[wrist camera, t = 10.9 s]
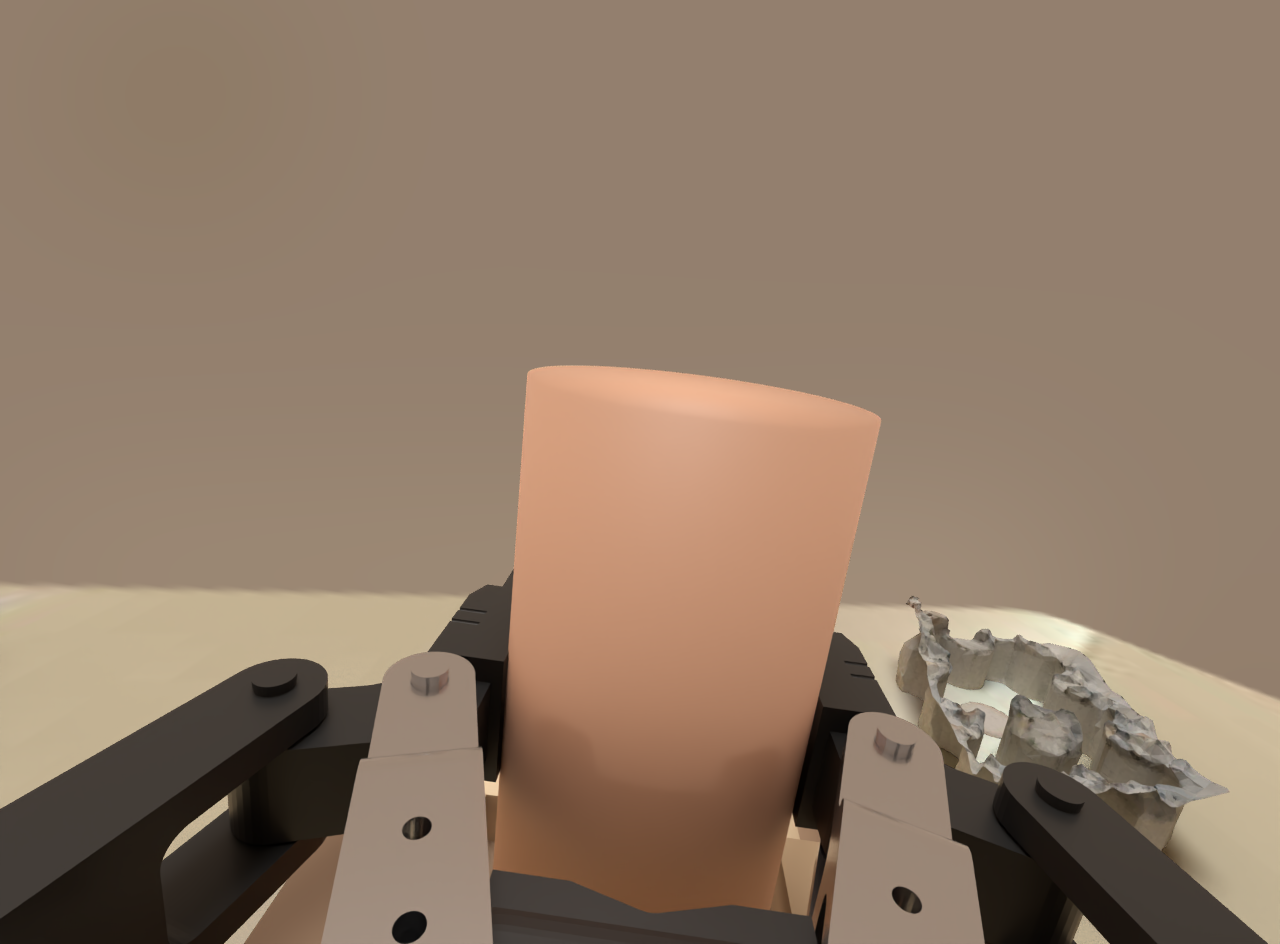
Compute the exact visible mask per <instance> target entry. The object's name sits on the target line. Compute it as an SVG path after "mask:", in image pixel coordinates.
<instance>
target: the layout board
mask: <svg viewBox="0 0 1280 944" xmlns="http://www.w3.org/2000/svg"><path fill="white" fill-rule="evenodd" d="M499 775H500V773H499ZM499 775H498V778H497V780H496V782H489V781H484V786H485V804H486V823H487V842H488V861H489V879H490V876H491V873H492V870H493V860H494V846H495V832H496V818H497V803H498V789H499ZM343 836H344V834H342V835H335V836H328V837H326V839H325V840H324V842H323V843H322V845H321V846H320V847H319V848H318V849H317V850H316V851H315V852H314V853H313V854H312V855H311V856H310V857H309V858H308V859H307V860H306V861H305V862H304V863H303V864H302V865H301V866H300V867H299V868H298V869H297V870H296V871H295V872H294V873H293V874H292V875H291V876H290V877H289V878H288V880H287V881H286V883H285V884H284V886H283V887H282V889H281V890H280V892H279V893H278V895H277V896H276V897H275V899H274V900H273V902H272V903H271V905H270V906H269V908H268V909H267V911H266V912H265V914H264V915H263V917H262V918H261V919H260V921H259V922H258V924H257V925H256V927H255V928H254V930H253V931H252V933H251V934H250V936H249V937H248V938H247V940H246V941H245V943H244V944H321V941H322V937H323V932H324V927H325V922H326V918H327V913H328V908H329V903H330V898H331V894H332V889H333V884H334V879H335V874H336V870H337V865H338V860H339V855H340V851H341V846H342V841H343ZM819 843H820V836H819V832H818V830H815V829H808V828H801V827H795V823H794V819H793V815H792V816H791V820H790V824H789V829H788V833H787V838H786V842H785V846H784V851H783V855H782V860H781V864H780V868H779V873H778V877H777V882H776V886H775V890H774V895H773V899H772V904H771V908H770V910H771V911H778V912H784V913H791V914H798V915H805V916H806V915H807V909H808V903H809V896H810V890H811V883H812V877H813V871H814V864H815V859H816V855H817V851H818V847H819Z"/></svg>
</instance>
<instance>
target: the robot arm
mask: <svg viewBox="0 0 1280 944" xmlns="http://www.w3.org/2000/svg"><path fill="white" fill-rule="evenodd" d="M513 574H514V569H513V571H512V573H511V574H510V576H509V577H508V579H507V581H506V582H505V584H504V585H503V587H501V586H494V585H486V586H484V587H483V588H481V589H479V590H477V591H475V592H473V593H471V594H470V595H469V596H468V597H467V599H466V600H465V601H464V603H463V604H462V606H461V607H460V610H458V611H457V612H456V614H455V615H454V616H453V618H452V621H450V622H449V623H448V625H447V626H446V627H445V629H444V630H443V632H442V633H441V634H440V636H439V637H438V638H437V640H436V641H435V642H434V644H433V645H432V647H431V648H430V649H429V651H428V652H424V653H419V654H415V655H411V656H408V657H406V658H403V659H401V660H400V661H398V662H396V663H395V664H393V665H392V666H391V667H390V668H389V669H388V670H387V671H386V673H385V675H384V677H383V681H382V683H380V684H375V685H368V686H356V687H342V688H328V674H327V672H326V670H325V669H324V668H323V667H322V666H321V665H320V664H318V663H315V662H313V661H309V660H305V659H291V658H290V659H279V660H272V661H268V662H264V663H260V664H257V665H254V666H252V667H249V668H247V669H245V670H243V671H241V672H239V673H237V674H235V675H234V676H232V677H230V678H228V679H227V680H225V681H223V682H221V683H220V684H218V685H216V686H214V687H213V688H211V689H209V690H207V691H206V692H204V693H202V694H200V695H199V696H197V697H195V698H193V699H192V700H190V701H188V702H187V703H185V704H183V705H181V706H180V707H178V708H176V709H174V710H173V711H171V712H169V713H167V714H166V715H164V716H162V717H160V718H159V719H157V720H155V721H153V722H152V723H150V724H148V725H146V726H145V727H143V728H141V729H139V730H138V731H136V732H134V733H132V734H131V735H129V736H127V737H125V738H124V739H122V740H120V741H118V742H117V743H115V744H113V745H111V746H110V747H108V748H106V749H104V750H103V751H101V752H99V753H97V754H96V755H94V756H92V757H90V758H89V759H87V760H85V761H83V762H82V763H80V764H78V765H76V766H75V767H73V768H71V769H69V770H68V771H66V772H64V773H62V774H61V775H59V776H57V777H55V778H54V779H52V780H50V781H48V782H47V783H45V784H43V785H41V786H40V787H38V788H36V789H34V790H33V791H31V792H29V793H27V794H26V795H24V796H22V797H20V798H19V799H17V800H15V801H14V802H12V803H10V804H8V805H7V806H5V807H3V808H1V809H0V944H224V943H225V942H226V941H227V940H228V939H229V938H230V937H231V936H232V935H233V934H234V933H235V932H236V931H237V930H238V929H239V928H240V927H241V926H242V925H243V924H244V923H245V922H246V921H247V920H248V919H249V918H250V917H251V916H252V915H253V914H254V913H255V912H256V911H257V910H258V909H259V908H260V907H261V906H262V905H263V904H264V903H265V902H266V901H267V900H268V899H269V898H270V897H271V896H272V895H273V894H274V893H275V892H276V890H277V889H278V888H279V887H280V886H281V885H282V884H283V883H284V882H285V881H286V880H287V879H288V878H289V877H290V876H291V875H292V874H293V873H294V872H295V871H296V870H297V869H298V868H299V867H300V866H301V865H302V864H303V863H304V862H305V861H306V860H307V859H308V858H309V857H310V856H311V855H312V854H313V853H314V852H315V851H316V850H317V849H318V848H319V847H320V846H321V845H322V843H323V842H324V840H325V839H326V837H328V836H335V835H342V834H344V836H343V841H342V846H341V851H340V855H339V860H338V865H337V870H336V874H335V879H334V884H333V889H332V894H331V898H330V903H329V908H328V913H327V918H326V922H325V927H324V932H323V937H322V941H321V944H1076V942H1075V941H1074V940H1073V938H1074V936H1075V933H1076V931H1077V928H1078V926H1079V924H1080V921H1081V919H1082V916H1083V915H1084V916H1085V917H1086V918H1087V919H1088V920H1089V921H1090V922H1091V923H1092V925H1093V926H1094V927H1095V928H1096V929H1097V930H1098V931H1099V932H1100V933H1101V935H1102V936H1103V937H1104V938H1105V939H1106V940H1107V941H1108V942H1109V943H1110V944H1268V943H1267V942H1265V941H1264V940H1263V939H1262V938H1261V937H1260V936H1259V935H1257V934H1256V933H1255V932H1254V931H1253V930H1252V929H1251V928H1249V927H1248V926H1247V925H1246V924H1245V923H1244V922H1242V921H1241V920H1240V919H1239V918H1238V917H1237V916H1236V915H1234V914H1233V913H1232V912H1231V911H1230V910H1229V909H1227V908H1226V907H1225V906H1224V905H1223V904H1222V903H1221V902H1219V901H1218V900H1217V899H1216V898H1215V897H1214V896H1212V895H1211V894H1210V893H1209V892H1208V891H1207V890H1206V889H1204V888H1203V887H1202V886H1201V885H1200V884H1199V883H1198V882H1196V881H1195V880H1194V879H1193V878H1192V877H1191V876H1189V875H1188V874H1187V873H1186V872H1185V871H1184V870H1183V869H1181V868H1180V867H1179V866H1178V865H1177V864H1176V863H1174V862H1173V861H1172V860H1171V859H1170V858H1169V857H1168V856H1166V855H1165V854H1164V853H1163V852H1162V851H1161V850H1160V849H1158V848H1157V847H1156V846H1155V845H1154V844H1153V843H1151V842H1150V841H1149V840H1148V839H1147V838H1146V837H1145V836H1143V835H1142V834H1141V833H1140V832H1139V831H1138V830H1136V829H1135V828H1134V827H1133V826H1132V825H1131V824H1130V823H1128V822H1127V821H1126V820H1125V819H1124V818H1123V817H1122V816H1120V815H1119V814H1118V813H1117V812H1116V811H1115V810H1113V809H1112V808H1111V807H1110V806H1109V805H1108V804H1107V803H1105V802H1104V801H1103V800H1102V799H1101V798H1100V797H1098V796H1097V795H1096V794H1095V793H1094V792H1092V791H1091V790H1090V789H1089V788H1087V787H1086V786H1084V785H1083V784H1081V783H1080V782H1078V781H1076V780H1075V779H1073V778H1071V777H1069V776H1067V775H1065V774H1063V773H1061V772H1059V771H1057V770H1054V769H1052V768H1049V767H1046V766H1043V765H1039V764H1035V763H1029V762H1015V763H1011V764H1009V765H1007V766H1006V767H1005V768H1004V770H1003V773H1002V775H1001V778H1000V781H999V784H996V783H993V782H990V781H988V780H985V779H982V778H979V777H976V776H973V775H970V774H968V773H965V772H962V771H959V770H957V769H954V768H952V767H949V766H947V765H945V764H944V762H943V756H942V752H941V750H940V748H939V747H938V745H937V744H936V742H935V741H934V740H933V739H932V738H931V737H930V736H929V735H928V734H926V733H925V732H924V731H923V730H921V729H920V728H918V727H917V726H915V725H913V724H912V723H910V722H908V721H906V720H903V719H901V718H898V717H896V715H895V713H894V711H893V710H892V708H891V706H890V704H889V702H888V701H887V699H886V697H885V695H884V693H883V691H882V690H881V688H880V686H879V684H878V682H877V680H874V675H873V673H872V671H871V670H870V668H869V667H867V662H866V660H865V659H864V657H863V655H862V653H861V651H860V650H859V648H858V647H857V646H856V645H854V644H853V643H852V642H851V641H850V640H849V639H847V638H846V637H845V636H844V635H843V634H842V633H836V632H833V635H832V640H831V644H830V648H829V653H828V657H827V662H826V666H825V670H824V675H823V679H822V684H821V688H820V692H819V697H818V701H817V706H816V710H815V714H814V719H813V723H812V728H811V732H810V736H809V741H808V745H807V750H806V754H805V758H804V763H803V767H802V772H801V776H800V780H799V785H798V789H797V794H796V798H795V802H794V807H793V811H792V815H793V819H794V823H795V827H801V828H808V829H815V830H818V832H819V836H820V843H819V847H818V851H817V855H816V859H815V864H814V871H813V877H812V883H811V890H810V896H809V903H808V909H807V915H806V916H805V915H798V914H791V913H784V912H778V911H771V910H764V909H757V908H751V907H744V906H737V905H726V906H717V907H709V908H700V909H691V910H682V911H673V912H664V913H648V912H645V911H642V910H639V909H637V908H634V907H632V906H630V905H627V904H625V903H622V902H620V901H618V900H615V899H613V898H610V897H608V896H605V895H603V894H601V893H598V892H596V891H593V890H591V889H589V888H586V887H584V886H581V885H579V884H577V883H574V882H572V881H568V880H561V879H554V878H547V877H541V876H534V875H527V874H520V873H514V872H507V871H500V870H492V873H491V876H490V879H489V861H488V842H487V823H486V804H485V786H484V781H489V782H496V780H497V778H498V775H499V773H500V768H501V753H502V739H503V725H504V711H505V696H506V682H507V668H508V653H509V651H508V646H509V631H510V617H511V603H512V588H513ZM226 795H228V806H229V809H227V810H226V811H225V812H223V813H222V814H221V815H220V816H218V817H217V818H216V819H215V820H213V821H212V822H211V823H210V824H208V825H207V826H206V827H204V828H203V829H202V830H201V831H199V832H198V833H197V834H196V835H194V836H193V837H192V838H191V839H189V840H188V841H187V842H185V843H184V844H183V845H182V846H180V847H179V848H178V849H177V850H175V851H174V852H173V853H172V854H170V855H169V856H168V857H166V858H165V859H164V860H163V857H164V855H165V853H166V851H167V849H168V847H169V846H170V844H171V843H172V841H173V840H174V839H175V837H176V836H177V835H178V834H179V833H180V832H181V831H182V830H183V829H184V828H185V827H186V826H187V825H188V824H190V823H191V822H192V821H194V820H195V819H196V818H198V817H199V816H200V815H201V814H203V813H204V812H205V811H207V810H208V809H209V808H211V807H212V806H213V805H215V804H216V803H217V802H218V801H220V800H221V799H222V798H224V797H225V796H226ZM162 860H163V861H162Z"/></svg>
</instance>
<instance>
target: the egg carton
mask: <svg viewBox="0 0 1280 944" xmlns="http://www.w3.org/2000/svg"><path fill="white" fill-rule="evenodd" d="M906 604H907V605H910V606H911V607H912V608H915V614H916V617H917V618H918V620H919V625H920V628H919V630H920V633H919V634H918V635H916V636H915V637H913V638H911V639H910V640H908V641H906V642H905V643H904V645H903V647H902V649H901V651H900V655H899V660H898V671H897V675H896V682H897V684H898V686H899V688H900V689H901V691H903V692H906V693H909V694H912V695H914V696H916V697H918V698H920V699H922V700H923V701H924V703H923V707H922V713H921V715H920V717H919V722H918V726H919V728H920V729H921V730H923V731H924V732H925V733H926V734H928V735H929V736H930V737H931V738H932V739H933V740H934V741H935V742H936V744H937V745H938V746H939V747H941V748H943V749H945V750H947V751H949V752H950V753H952V754H953V755H954V756H956V757H957V758H958V759H959V761H958V763H957V765H956V769H957V770H959V771H962V772H965V773H968V774H970V775H973V776H976V777H979V778H982V779H985V780H988V781H990V782H993V783H996V784H999V781H1000V778H1001V775H1002V773H1003V770H1004V768H1005V767H1006V766H1007V765H1009V764H1011V763H1015V762H1029V763H1035V764H1039V765H1043V766H1046V767H1049V768H1052V769H1054V770H1057V771H1059V772H1061V773H1063V774H1065V775H1067V776H1069V777H1071V778H1073V779H1075V780H1076V781H1078V782H1080V783H1081V784H1083V785H1084V786H1086V787H1087V788H1089V789H1090V790H1091V791H1092V792H1094V793H1095V794H1096V795H1097V796H1098V797H1100V798H1101V799H1102V800H1103V801H1104V802H1105V803H1107V804H1108V805H1109V806H1110V807H1111V808H1112V809H1113V810H1115V811H1116V812H1117V813H1118V814H1119V815H1120V816H1122V817H1123V818H1124V819H1125V820H1126V821H1127V822H1128V823H1130V824H1131V825H1132V826H1133V827H1134V828H1135V829H1136V830H1138V831H1139V832H1140V833H1141V834H1142V835H1143V836H1145V837H1146V838H1147V839H1148V840H1149V841H1150V842H1151V843H1153V844H1154V845H1155V846H1156V847H1157V848H1158V849H1160V850H1161V851H1162V848H1165V846H1166V844H1167V842H1168V841H1169V840H1170V839H1171V836H1172V833H1173V830H1174V827H1175V824H1176V822H1177V820H1178V818H1179V816H1180V814H1181V812H1182V809H1183V807H1184V804H1186V803H1188V802H1190V801H1193V800H1199V799H1204V798H1208V797H1212V796H1216V795H1220V794H1224V793H1228V792H1229V790H1228V789H1227V788H1225V787H1223V786H1220V785H1218V784H1216V783H1214V782H1211V781H1210V780H1208V779H1207V778H1205V777H1204V776H1202V775H1201V774H1199V773H1198V772H1197V771H1196V770H1194V769H1193V768H1192V767H1191V766H1190V764H1189V763H1188V762H1187V761H1186V760H1183V759H1176V758H1175V757H1174V756H1173V755H1172V752H1171V745H1170V743H1169V742H1167V741H1163V740H1158V739H1157V735H1156V731H1155V726H1154V723H1153V720H1151V719H1149V718H1148V717H1146V716H1145V717H1143V716H1141V715H1139V714H1138V713H1137V712H1135V711H1134V710H1133V709H1132V708H1131V707H1130V705H1129V704H1128V703H1127V702H1126V701H1125V700H1124V698H1123V697H1122V696H1120V695H1118V694H1117V693H1115V692H1113V691H1112V690H1111V689H1110V688H1109V686H1108V685H1107V684H1106V683H1105V681H1104V680H1103V678H1102V677H1101V675H1100V674H1099V672H1098V671H1097V669H1096V668H1095V666H1094V665H1093V663H1092V662H1091V660H1090V659H1089V658H1088V657H1086V656H1085V655H1084V654H1083V653H1081V652H1080V651H1077V650H1074V649H1071V648H1067V647H1063V646H1059V645H1054V644H1050V643H1046V644H1039V643H1036V642H1033V641H1028V640H1026V639H1024V638H1023V637H1022V636H1021V635H1017V636H1016V637H1015V638H1014V639H1001V638H996V637H994V636H992V634H991V632H990V630H989V629H981V630H980V631H978V632H977V633H976V634H975V636H974V638H973V639H972V640H965V639H958V638H951V637H950V636H949V633H950V630H948V622H949V620H948V618H947V617H946V616H944V615H942V614H940V613H937V612H933V611H922V610H920V608H921V602H919V601H918V598H917V597H914V596H912V597H910V598H909V600H908V602H907V603H906ZM985 680H990V681H995V682H1000V683H1003V684H1005V685H1006V686H1008V687H1009V688H1010V689H1011V690H1013V691H1015V692H1016V693H1018V694H1020V695H1016V696H1015V697H1014V698H1013V699H1012V701H1011V704H1010V710H1009V717H1008V716H1007V715H1005V714H1004V713H1003V712H1001V711H998V710H997V709H995V708H993V707H990V706H988V705H985V704H981V703H975V702H969V703H965V704H961V705H959V704H958V703H953V702H952V701H950V700H948V699H946V698H943V695H944V692H945V688H946V684H947V683H949V684H951V685H953V686H956V687H959V688H963V689H972V690H974V689H980V688H982V686H983V684H984V681H985ZM1028 698H1029V699H1032V700H1036V701H1039V702H1042V703H1044V705H1043V707H1040V706H1037V705H1033V704H1032V703H1031V701H1030V700H1029V699H1028ZM984 734H986V735H989V736H991V737H995V738H999V739H1001V741H1000V744H999V747H998V751H997V754H996V758H995V757H994V756H993V755H992V754H990V755H989V756H988V758H987V759H986V760H985V762H983V763H980V764H979V763H978V762H977V761H976V757H977V754H978V751H979V748H980V745H981V741H982V738H983V735H984ZM1082 753H1083V754H1086V755H1088V756H1089V757H1090V758H1091V759H1092V762H1091V765H1090V768H1089V769H1087V768H1086V767H1085V766H1083V765H1082V764H1080V765H1077V763H1078V761H1079V759H1080V757H1081V755H1082Z"/></svg>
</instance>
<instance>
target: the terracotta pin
mask: <svg viewBox="0 0 1280 944" xmlns="http://www.w3.org/2000/svg"><path fill="white" fill-rule="evenodd" d="M880 424H881V419H880V418H879V416H877V415H876V414H874V413H872V412H870V411H867V410H865V409H862V408H859V407H857V406H854V405H851V404H847V403H844V402H840V401H837V400H833V399H829V398H824V397H821V396H816V395H812V394H808V393H803V392H798V391H793V390H788V389H783V388H778V387H772V386H767V385H761V384H755V383H749V382H743V381H737V380H730V379H724V378H717V377H709V376H702V375H694V374H685V373H677V372H668V371H659V370H647V369H636V368H623V367H606V366H549V367H541V368H536V369H532V370H530V371H529V372H528V374H527V388H526V402H525V417H524V431H523V445H522V460H521V474H520V489H519V503H518V518H517V532H516V546H515V560H514V574H513V588H512V603H511V617H510V631H509V646H508V651H509V653H508V668H507V682H506V696H505V711H504V725H503V739H502V753H501V768H500V775H499V789H498V803H497V818H496V832H495V846H494V860H493V870H500V871H507V872H514V873H520V874H527V875H534V876H541V877H547V878H554V879H561V880H568V881H572V882H574V883H577V884H579V885H581V886H584V887H586V888H589V889H591V890H593V891H596V892H598V893H601V894H603V895H605V896H608V897H610V898H613V899H615V900H618V901H620V902H622V903H625V904H627V905H630V906H632V907H634V908H637V909H639V910H642V911H645V912H648V913H664V912H673V911H682V910H691V909H700V908H709V907H717V906H726V905H737V906H744V907H751V908H757V909H764V910H770V908H771V904H772V899H773V895H774V890H775V886H776V882H777V877H778V873H779V868H780V864H781V860H782V855H783V851H784V846H785V842H786V838H787V833H788V829H789V824H790V820H791V816H792V811H793V807H794V802H795V798H796V794H797V789H798V785H799V780H800V776H801V772H802V767H803V763H804V758H805V754H806V750H807V745H808V741H809V736H810V732H811V728H812V723H813V719H814V714H815V710H816V706H817V701H818V697H819V692H820V688H821V684H822V679H823V675H824V670H825V666H826V662H827V657H828V653H829V648H830V644H831V640H832V635H833V631H834V627H835V622H836V618H837V613H838V609H839V605H840V600H841V596H842V591H843V587H844V582H845V578H846V574H847V569H848V564H849V561H850V556H851V551H852V547H853V542H854V538H855V534H856V529H857V525H858V521H859V517H860V512H861V508H862V503H863V499H864V495H865V490H866V486H867V481H868V477H869V472H870V468H871V464H872V459H873V455H874V451H875V446H876V442H877V437H878V433H879V429H880Z"/></svg>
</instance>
